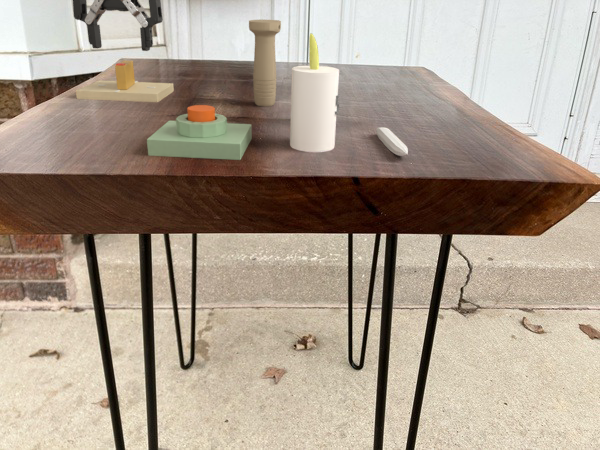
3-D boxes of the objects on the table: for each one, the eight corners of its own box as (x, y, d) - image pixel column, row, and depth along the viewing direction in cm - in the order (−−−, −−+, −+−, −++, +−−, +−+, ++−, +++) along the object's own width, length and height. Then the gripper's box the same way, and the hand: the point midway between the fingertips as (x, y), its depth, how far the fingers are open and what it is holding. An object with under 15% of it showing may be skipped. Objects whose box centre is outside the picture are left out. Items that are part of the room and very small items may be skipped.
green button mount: (148, 155, 68) (145, 125, 66) (170, 135, 77) (168, 107, 75) (240, 160, 67) (240, 129, 66) (251, 139, 76) (251, 111, 75)
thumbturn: (126, 83, 96) (123, 59, 94) (135, 83, 96) (132, 59, 94) (117, 89, 91) (114, 64, 89) (126, 89, 91) (124, 64, 89)
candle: (331, 154, 71) (338, 36, 65) (284, 149, 72) (287, 33, 66) (339, 142, 76) (346, 32, 70) (295, 137, 78) (299, 30, 71)
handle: (245, 116, 89) (243, 21, 82) (257, 108, 94) (257, 19, 88) (272, 119, 88) (273, 23, 81) (283, 111, 93) (284, 20, 87)
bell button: (184, 123, 69) (184, 110, 68) (191, 117, 72) (191, 104, 72) (212, 124, 69) (211, 111, 68) (217, 118, 72) (217, 105, 72)
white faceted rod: (400, 163, 68) (401, 151, 68) (374, 134, 81) (375, 123, 80) (411, 163, 69) (413, 151, 68) (383, 134, 81) (385, 123, 80)
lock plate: (77, 108, 90) (74, 89, 89) (101, 96, 100) (99, 79, 98) (158, 111, 90) (156, 93, 88) (174, 99, 99) (173, 82, 98)
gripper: (163, -55, 86) (169, 49, 93) (78, -58, 87) (90, 45, 94) (147, -58, 80) (155, 54, 86) (56, -62, 80) (70, 49, 87)
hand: (121, 49), depth 90 cm, fingers open, 8 cm apart
